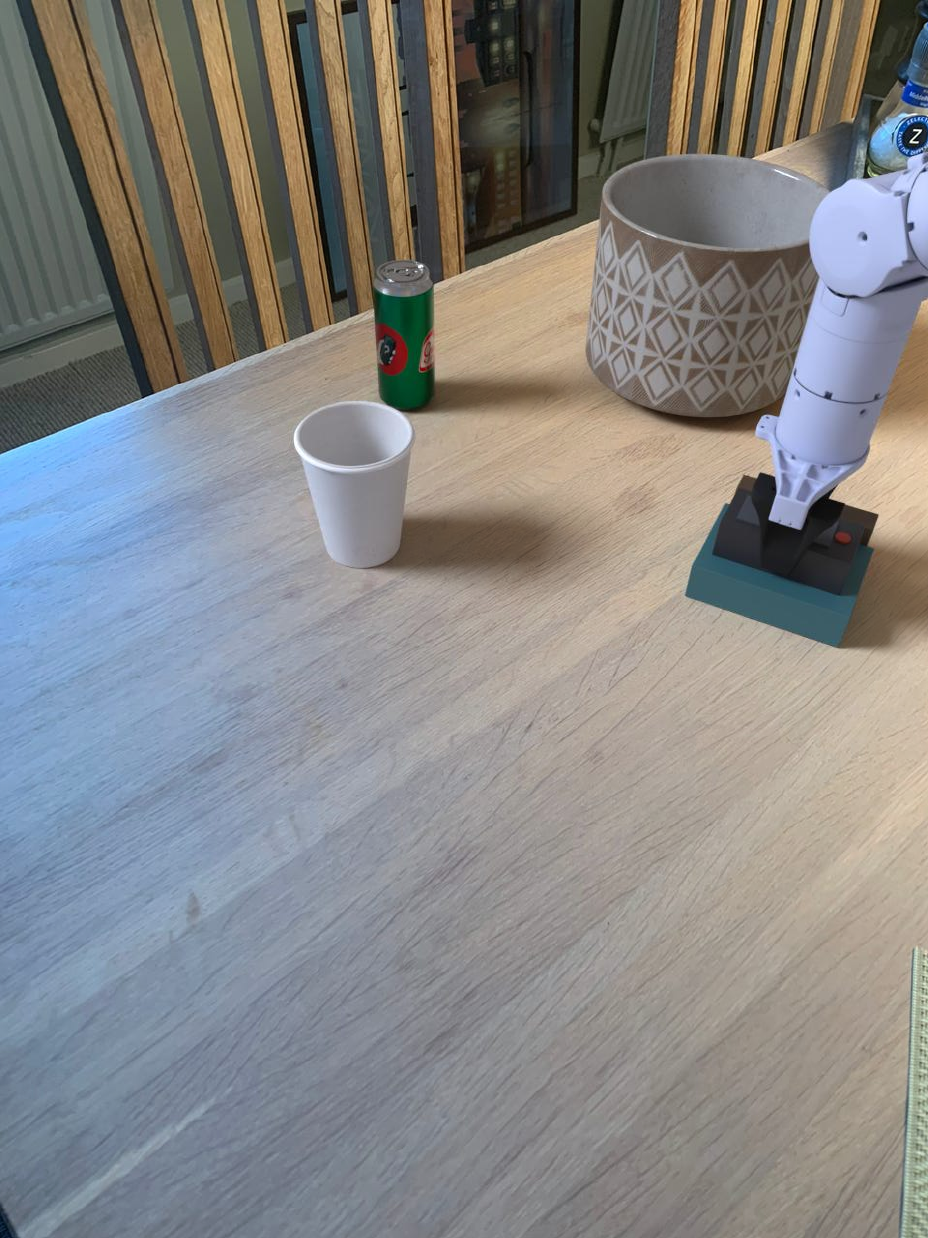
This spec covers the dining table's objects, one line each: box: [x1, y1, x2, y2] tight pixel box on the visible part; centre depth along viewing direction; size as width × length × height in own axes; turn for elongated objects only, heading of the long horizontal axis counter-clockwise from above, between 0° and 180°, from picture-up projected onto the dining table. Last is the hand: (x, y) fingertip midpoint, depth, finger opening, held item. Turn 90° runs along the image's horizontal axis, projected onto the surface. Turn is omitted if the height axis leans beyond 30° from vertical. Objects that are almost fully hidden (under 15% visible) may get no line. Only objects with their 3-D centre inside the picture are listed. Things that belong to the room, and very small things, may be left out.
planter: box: [585, 153, 831, 418], centre depth 87 cm, size 19×19×16 cm
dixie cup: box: [293, 400, 416, 569], centre depth 72 cm, size 8×8×10 cm
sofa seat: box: [684, 474, 879, 649], centre depth 71 cm, size 10×11×4 cm
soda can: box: [372, 259, 436, 411], centre depth 85 cm, size 5×5×12 cm
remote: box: [712, 488, 865, 596], centre depth 69 cm, size 9×4×3 cm, turn 63°
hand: (785, 546), depth 70 cm, fingers closed on remote, 4 cm apart
